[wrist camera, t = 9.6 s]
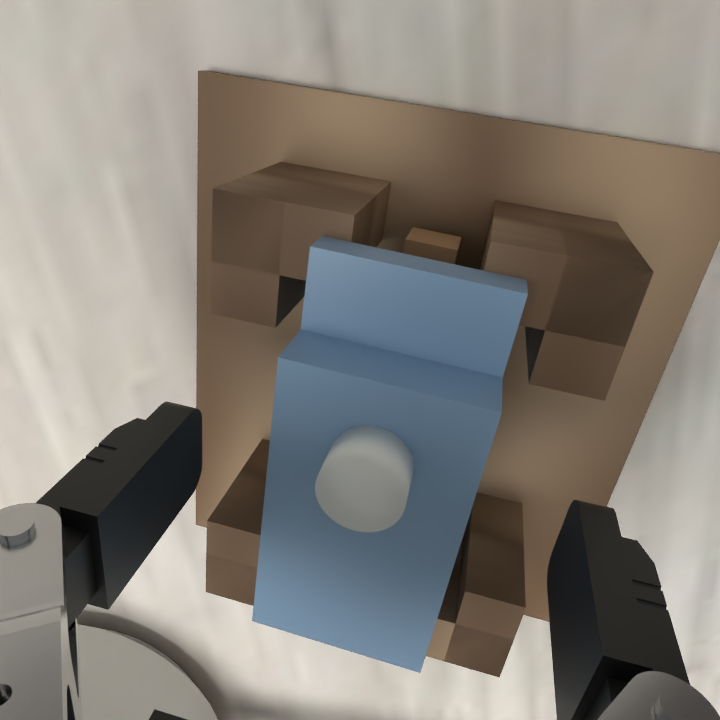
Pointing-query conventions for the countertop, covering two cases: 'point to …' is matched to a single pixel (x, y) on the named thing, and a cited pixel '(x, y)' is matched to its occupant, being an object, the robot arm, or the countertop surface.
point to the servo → (380, 441)
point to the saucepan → (133, 680)
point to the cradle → (476, 250)
